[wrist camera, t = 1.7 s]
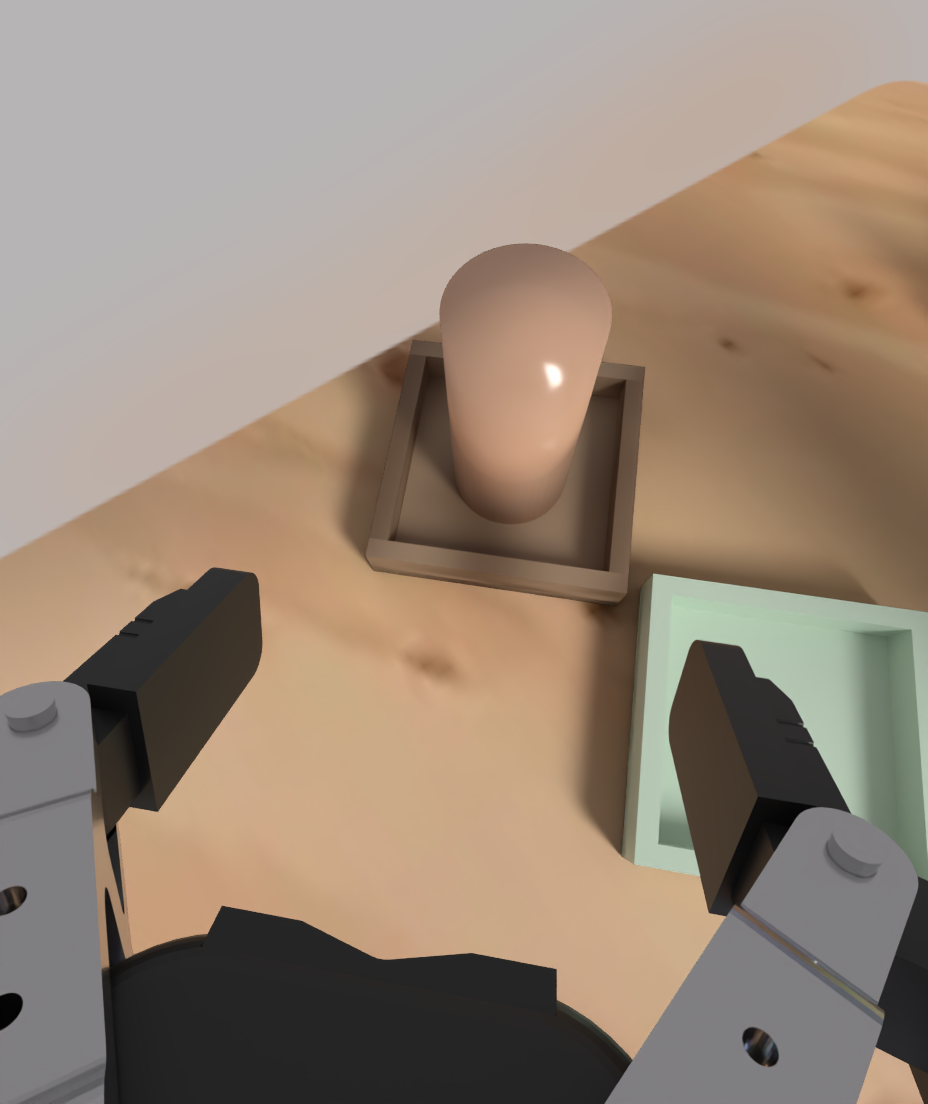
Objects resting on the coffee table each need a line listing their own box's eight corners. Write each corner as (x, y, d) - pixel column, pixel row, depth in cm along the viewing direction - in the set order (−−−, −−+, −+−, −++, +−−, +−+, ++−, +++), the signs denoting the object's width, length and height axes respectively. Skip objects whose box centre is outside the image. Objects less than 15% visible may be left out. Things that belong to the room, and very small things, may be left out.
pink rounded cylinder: (571, 431, 30) (618, 252, 20) (559, 531, 28) (604, 395, 18) (464, 417, 30) (454, 235, 20) (446, 516, 29) (425, 374, 18)
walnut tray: (633, 393, 31) (645, 366, 29) (616, 606, 28) (627, 593, 26) (417, 367, 32) (413, 340, 30) (373, 570, 29) (365, 555, 26)
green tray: (896, 624, 27) (931, 612, 25) (914, 907, 24) (956, 921, 22) (640, 587, 28) (653, 573, 26) (621, 855, 24) (634, 864, 22)
